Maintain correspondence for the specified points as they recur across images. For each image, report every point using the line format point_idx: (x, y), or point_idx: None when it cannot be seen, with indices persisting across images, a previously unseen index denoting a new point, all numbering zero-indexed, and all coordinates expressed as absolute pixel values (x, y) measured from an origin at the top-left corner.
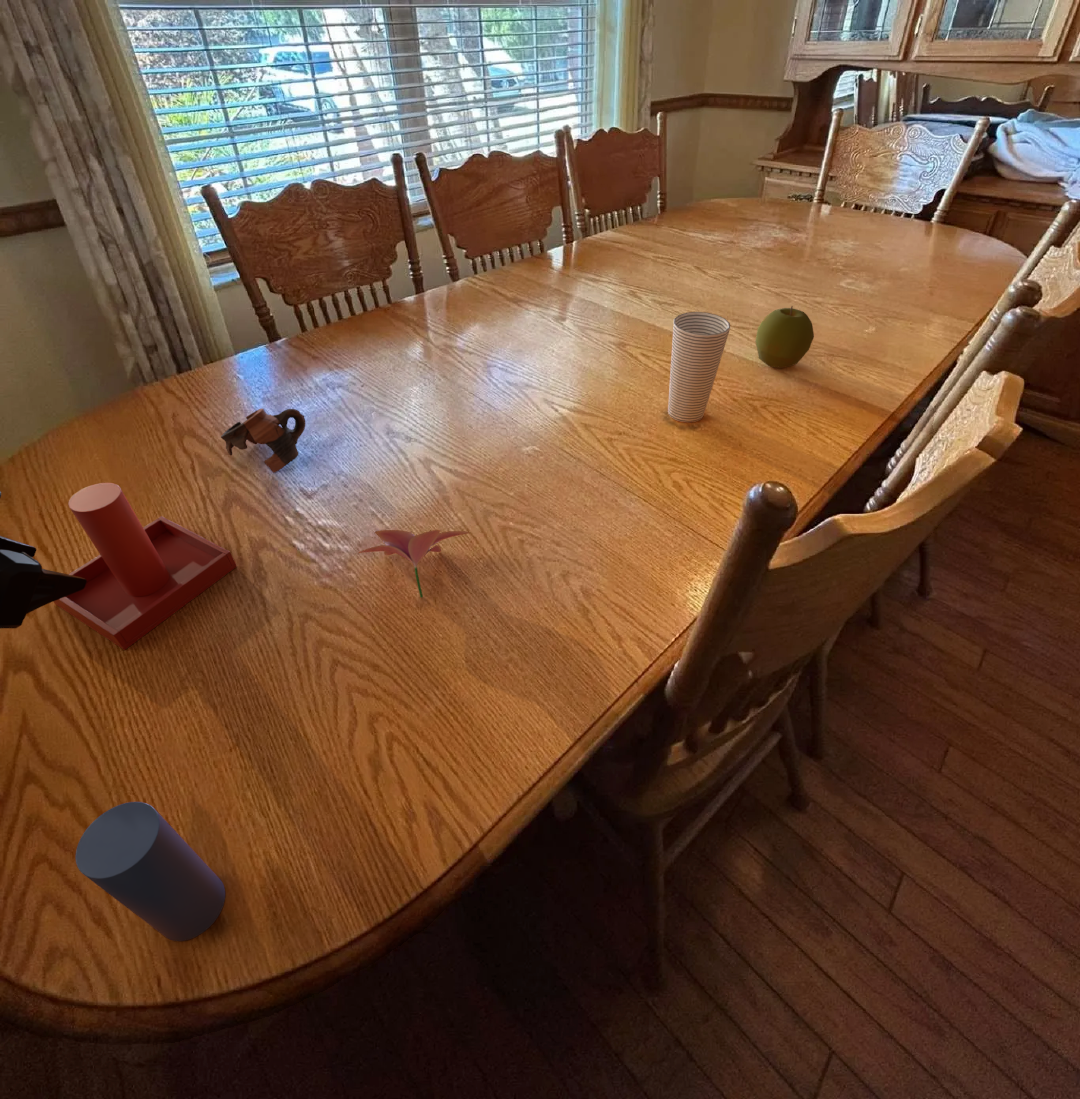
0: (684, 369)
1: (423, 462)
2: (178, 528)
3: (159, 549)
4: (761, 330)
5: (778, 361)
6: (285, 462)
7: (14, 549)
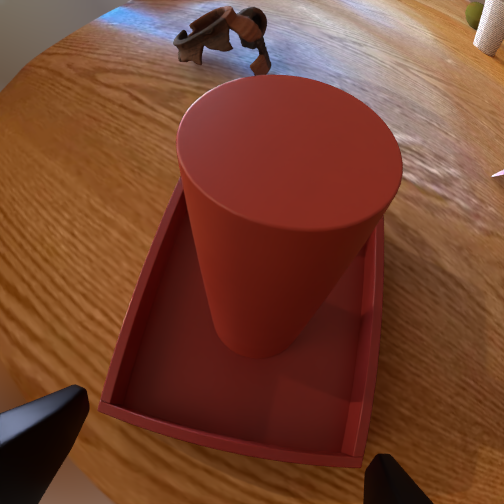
0: (500, 25)
1: (399, 65)
2: None
3: None
4: (474, 10)
5: None
6: (268, 66)
7: (54, 436)
